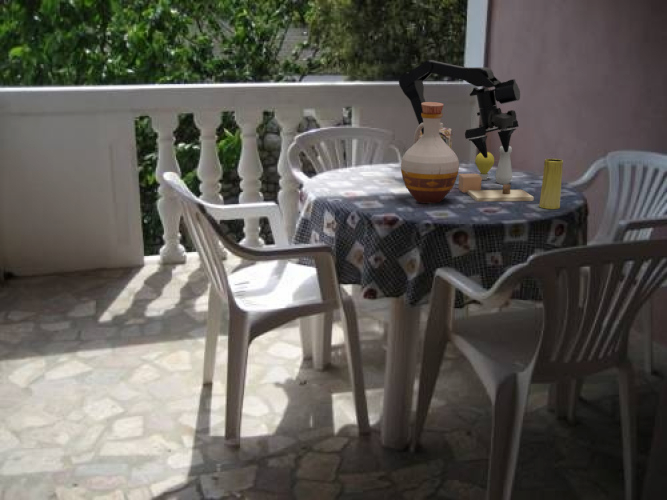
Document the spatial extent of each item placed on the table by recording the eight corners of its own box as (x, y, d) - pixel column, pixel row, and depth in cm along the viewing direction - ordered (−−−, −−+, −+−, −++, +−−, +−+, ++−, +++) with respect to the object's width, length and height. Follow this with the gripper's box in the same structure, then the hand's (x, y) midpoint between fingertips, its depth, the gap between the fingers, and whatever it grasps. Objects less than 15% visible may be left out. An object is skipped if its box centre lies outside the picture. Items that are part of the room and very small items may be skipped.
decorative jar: (451, 168, 276) (453, 121, 270) (448, 174, 265) (451, 125, 260) (420, 167, 278) (422, 120, 273) (416, 172, 267) (418, 124, 262)
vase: (536, 204, 218) (540, 158, 214) (557, 204, 218) (561, 158, 214) (541, 209, 212) (546, 161, 208) (562, 209, 212) (567, 161, 208)
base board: (476, 201, 222) (477, 188, 220) (467, 193, 232) (468, 181, 231) (533, 200, 223) (534, 188, 222) (521, 193, 233) (522, 181, 232)
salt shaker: (511, 185, 246) (514, 147, 242) (494, 184, 247) (497, 147, 243) (511, 181, 251) (514, 145, 248) (494, 181, 252) (497, 144, 249)
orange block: (462, 192, 234) (463, 177, 233) (457, 188, 240) (458, 173, 239) (481, 192, 235) (482, 177, 233) (475, 188, 241) (476, 173, 239)
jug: (388, 195, 229) (390, 100, 221) (437, 191, 236) (441, 99, 227) (415, 209, 212) (419, 106, 203) (468, 204, 218) (474, 104, 209)
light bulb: (497, 179, 255) (499, 152, 252) (483, 181, 251) (485, 153, 248) (483, 176, 260) (485, 149, 257) (470, 178, 256) (471, 151, 253)
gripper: (483, 108, 218) (492, 158, 220) (526, 98, 227) (535, 147, 229) (459, 113, 227) (468, 161, 230) (501, 103, 236) (510, 150, 239)
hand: (496, 154), depth 231 cm, fingers open, 9 cm apart
